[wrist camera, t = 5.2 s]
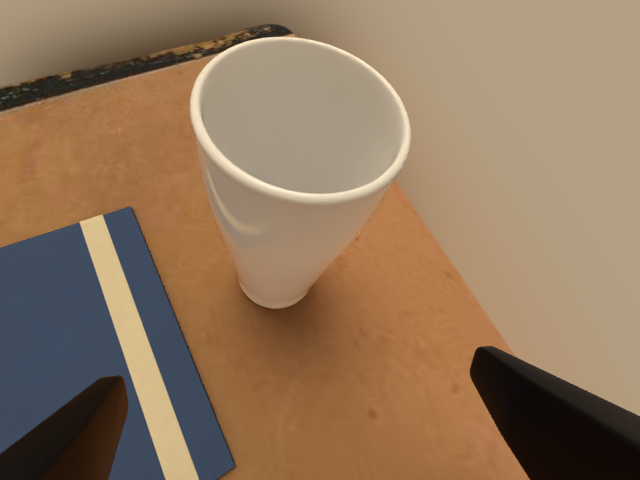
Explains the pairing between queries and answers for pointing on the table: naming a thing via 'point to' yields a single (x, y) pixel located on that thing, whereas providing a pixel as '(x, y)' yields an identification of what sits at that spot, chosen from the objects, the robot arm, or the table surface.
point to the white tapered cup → (293, 157)
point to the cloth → (103, 347)
